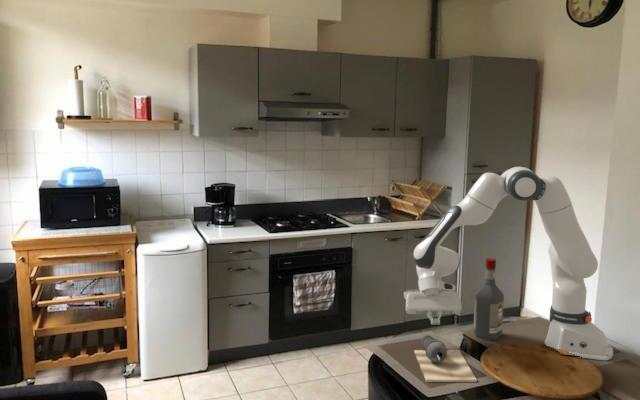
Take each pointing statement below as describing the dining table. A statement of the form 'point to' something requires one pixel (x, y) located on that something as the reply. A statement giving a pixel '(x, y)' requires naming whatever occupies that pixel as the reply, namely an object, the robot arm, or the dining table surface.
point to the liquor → (488, 306)
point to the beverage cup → (434, 349)
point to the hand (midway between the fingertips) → (435, 324)
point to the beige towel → (445, 368)
